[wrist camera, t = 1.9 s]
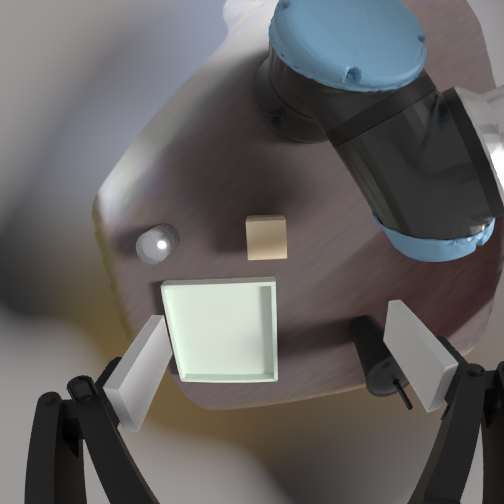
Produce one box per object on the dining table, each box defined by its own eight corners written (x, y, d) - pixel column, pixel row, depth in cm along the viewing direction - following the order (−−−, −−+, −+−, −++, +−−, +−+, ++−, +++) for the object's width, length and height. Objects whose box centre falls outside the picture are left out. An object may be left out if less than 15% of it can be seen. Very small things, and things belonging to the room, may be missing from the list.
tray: (164, 280, 44) (160, 285, 42) (274, 276, 43) (275, 281, 41) (183, 373, 49) (181, 381, 47) (277, 373, 48) (277, 381, 46)
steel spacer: (149, 224, 41) (133, 233, 36) (177, 222, 41) (164, 230, 35) (153, 252, 43) (138, 265, 37) (180, 251, 42) (168, 264, 37)
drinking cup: (376, 299, 44) (434, 372, 25) (388, 332, 45) (439, 407, 26) (336, 321, 45) (374, 407, 26) (351, 352, 47) (387, 436, 27)
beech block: (247, 215, 41) (245, 221, 36) (282, 214, 41) (285, 219, 36) (249, 249, 42) (248, 260, 37) (283, 248, 42) (287, 258, 37)
